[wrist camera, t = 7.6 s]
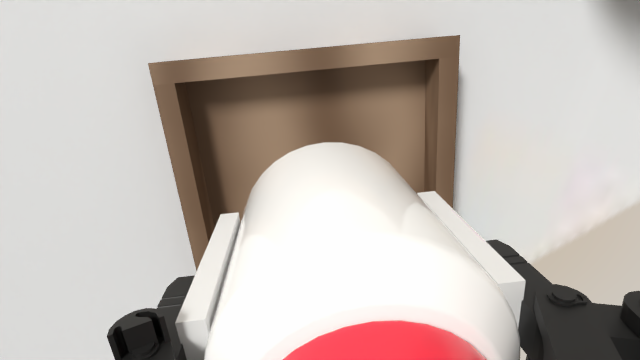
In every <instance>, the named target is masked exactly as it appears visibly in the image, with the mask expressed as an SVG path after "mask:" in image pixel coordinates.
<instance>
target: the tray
mask: <svg viewBox="0 0 640 360" xmlns="http://www.w3.org/2000/svg"><path fill="white" fill-rule="evenodd" d="M459 46H460V35H457V36H444V37H433V38H422V39H411V40H399V41H388V42H377V43H366V44H355V45H344V46H333V47H322V48H311V49H300V50H289V51H277V52H266V53H255V54H244V55H233V56H222V57H211V58H200V59H189V60H178V61H166V62H157V63H148V65H149V70H150V74H151V78H152V82H153V87H154V91H155V95H156V100H157V104H158V108H159V112H160V117H161V121H162V125H163V129H164V134H165V138H166V142H167V147H168V151H169V155H170V159H171V164H172V168H173V172H174V176H175V181H176V185H177V189H178V194H179V198H180V202H181V206H182V211H183V215H184V219H185V224H186V228H187V232H188V236H189V241H190V245H191V249H192V253H193V258H194V262H195V266H196V271H197V270H198V267H199V265H200V262H201V260H202V258H203V255H204V253H205V250H206V248H207V246H208V243H209V241H210V238H211V236H212V234H213V231H214V229H215V227H216V224H217V222H218V219H219V217H220V215H221V214H228V213H237V212H239V218H240V223H241V219H242V216H243V212H244V209H245V205H246V202H247V200H248V197H249V195H250V193H251V190H252V188H253V186H254V185H255V183H256V182H257V180H258V179H259V177H260V176H261V175H262V173H263V172H264V171H265V170H266V169H267V168H269V167H270V166H271V165H272V164H273V163H274V162H275V161H276V160H278V159H280V158H281V157H283V156H284V155H286V154H287V153H289V152H291V151H294V150H296V149H299V148H301V147H304V146H306V145H312V144H317V143H323V142H343V143H348V144H353V145H358V146H361V147H363V148H366V149H368V150H370V151H373V152H375V153H377V154H378V155H379V156H381V157H382V158H384V159H385V160H387V161H388V162H389V163H390V164H391V165H392V166H393V167H394V168H395V169H396V170H397V171H398V172H399V173H400V175H401V176H402V177H403V178H404V179H405V180H406V181H407V183H408V184H409V185H410V186H411V187H412V188H413V189H414V190H415V192H416V193H421V192H430V191H435V192H436V193H437V194H438V195H439V196H440V197H441V198H442V199H443V200H444V201H445V202H446V203H447V204H448V205H449V206H450V207H451V208H453V185H454V161H455V138H456V115H457V92H458V69H459Z"/></svg>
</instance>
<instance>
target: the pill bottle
mask: <svg viewBox="0 0 640 360" xmlns="http://www.w3.org/2000/svg"><path fill="white" fill-rule="evenodd" d="M204 360H520V336H519V332H518V328H517V323H516V319H515V315H514V313H513V311H512V309H511V307H510V305H509V303H508V301H507V300H506V298H505V296H504V294H503V292H502V290H501V289H500V287H499V286H498V285H497V284H496V283H495V281H494V280H493V279H492V278H491V277H490V276H489V275H488V273H487V272H486V271H485V270H484V269H483V268H482V267H481V265H480V264H479V263H478V262H477V261H476V260H475V259H474V258H473V256H472V255H471V254H470V253H469V252H468V251H467V250H466V248H465V247H464V246H463V245H462V244H461V243H460V242H459V240H458V239H457V238H456V237H455V236H454V235H453V234H452V233H451V231H450V230H449V229H448V228H447V227H446V226H445V225H444V223H443V222H442V221H441V220H440V219H439V218H438V217H437V215H436V214H435V213H434V212H433V211H432V210H431V209H430V208H429V206H428V205H427V204H426V203H425V202H424V201H423V200H422V198H421V197H420V196H419V195H418V194H417V193H416V192H415V190H414V189H413V188H412V187H411V186H410V185H409V184H408V183H407V181H406V180H405V179H404V178H403V177H402V176H401V175H400V173H399V172H398V171H397V170H396V169H395V168H394V167H393V166H392V165H391V164H390V163H389V162H388V161H387V160H385V159H384V158H382V157H381V156H379V155H378V154H377V153H375V152H373V151H370V150H368V149H366V148H363V147H361V146H358V145H353V144H348V143H343V142H323V143H317V144H312V145H306V146H304V147H301V148H299V149H296V150H294V151H291V152H289V153H287V154H286V155H284V156H283V157H281V158H280V159H278V160H276V161H275V162H274V163H273V164H272V165H271V166H270V167H269V168H267V169H266V170H265V171H264V172H263V173H262V175H261V176H260V177H259V179H258V180H257V182H256V183H255V185H254V186H253V188H252V190H251V193H250V195H249V197H248V200H247V202H246V205H245V209H244V212H243V216H242V219H241V223H240V226H239V230H238V233H237V237H236V240H235V244H234V247H233V251H232V255H231V258H230V262H229V265H228V269H227V272H226V276H225V279H224V283H223V286H222V290H221V293H220V297H219V300H218V304H217V308H216V311H215V315H214V318H213V322H212V325H211V329H210V332H209V336H208V339H207V344H206V349H205V355H204Z"/></svg>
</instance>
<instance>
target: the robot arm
mask: <svg viewBox="0 0 640 360" xmlns="http://www.w3.org/2000/svg"><path fill="white" fill-rule="evenodd" d="M417 194H418V195H419V196H420V197H421V198H422V200H423V201H424V202H425V203H426V204H427V205H428V206H429V208H430V209H431V210H432V211H433V212H434V213H435V214H436V215H437V217H438V218H439V219H440V220H441V221H442V222H443V223H444V225H445V226H446V227H447V228H448V229H449V230H450V231H451V233H452V234H453V235H454V236H455V237H456V238H457V239H458V240H459V242H460V243H461V244H462V245H463V246H464V247H465V248H466V250H467V251H468V252H469V253H470V254H471V255H472V256H473V258H474V259H475V260H476V261H477V262H478V263H479V264H480V265H481V267H482V268H483V269H484V270H485V271H486V272H487V273H488V275H489V276H490V277H491V278H492V279H493V280H494V281H495V283H496V284H497V285H498V286H499V287H500V289H501V290H502V292H503V294H504V296H505V298H506V300H507V301H508V303H509V305H510V307H511V309H512V311H513V313H514V315H515V319H516V323H517V328H518V332H519V336H520V346H521V348H522V349H523V350H524V351H525V353H526V354H527V357H526V360H640V291H634V292H629V293H628V294H626V295H625V296H624V300H623V304H622V306H617V305H606V304H596V303H592V302H591V301H590V300H589V299H588V298H587V296H585V295H584V294H582V293H581V292H579V291H577V290H575V289H572V288H570V287H567V286H562V285H557V284H552V283H551V282H549V281H548V280H547V279H546V278H545V277H544V276H543V275H542V274H540V273H539V272H538V271H537V270H536V269H535V268H534V267H533V266H532V265H530V264H529V263H527V261H526V260H525V259H524V258H523V257H522V256H519V254H518V253H517V252H516V251H515V250H514V249H513V248H511V247H510V246H509V245H506V244H504V243H502V242H500V241H498V240H489V241H485V240H484V239H483V238H482V237H481V236H480V235H479V234H478V233H477V232H476V231H475V230H474V229H473V228H472V227H471V226H470V225H469V224H468V223H467V222H466V221H465V220H464V219H463V218H462V217H461V216H460V215H459V214H457V213H456V212H455V211H454V210H453V209H452V208H451V207H450V206H449V205H448V204H447V203H446V202H445V201H444V200H443V199H442V198H441V197H440V196H439V195H438V194H437V193H436V192H435V191H430V192H421V193H417ZM239 226H240V218H239V212H237V213H228V214H221V215H220V217H219V219H218V222H217V224H216V227H215V229H214V231H213V234H212V236H211V238H210V241H209V243H208V246H207V248H206V250H205V253H204V255H203V258H202V260H201V262H200V265H199V267H198V270H197V272H196V274H195V276H187V277H179V278H177V279H176V280H175V281H174V282H173V283H171V284H170V285H169V286H168V287H167V289H166V291H165V293H164V295H163V297H162V300H161V301H160V303H159V304H158V308H157V309H152V308H146V309H141V310H137V311H134V312H132V313H130V314H127V315H125V316H124V317H122V318H121V319H119V320H118V321H116V322H115V323H114V325H113V326H112V327H111V328H110V329H109V332H108V335H107V338H108V341H109V344H110V346H111V349H112V352H113V355H114V358H115V360H204V355H205V349H206V344H207V339H208V336H209V332H210V329H211V325H212V322H213V318H214V315H215V311H216V308H217V304H218V300H219V297H220V293H221V290H222V286H223V283H224V279H225V276H226V272H227V269H228V265H229V262H230V258H231V255H232V251H233V247H234V244H235V240H236V237H237V233H238V230H239Z"/></svg>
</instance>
